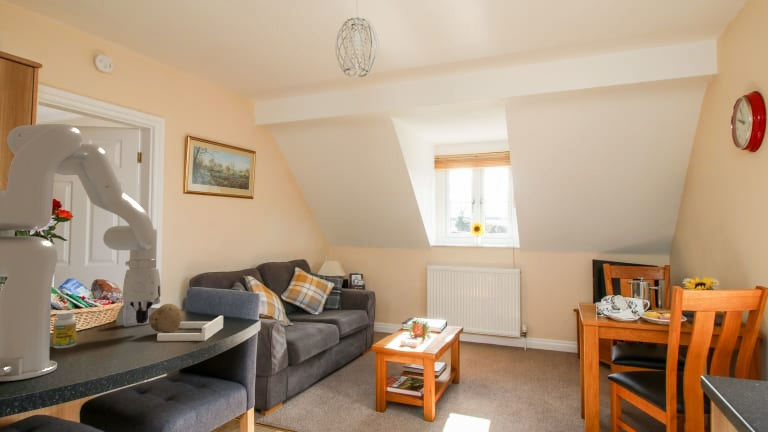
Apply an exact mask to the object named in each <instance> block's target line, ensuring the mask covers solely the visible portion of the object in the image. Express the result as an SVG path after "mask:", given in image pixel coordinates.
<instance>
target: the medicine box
mask: <svg viewBox="0 0 768 432" xmlns="http://www.w3.org/2000/svg"><path fill="white" fill-rule="evenodd" d="M122 305H123V307H122V308H123V310H122V325H123V326H124V327H125V328H126V327H134V326H135V327H136V326H141V325H142V326H143V325H149V324H150V323H149V317H150V315H151V308H152V306H151V307H150V309H148V320H147V322H145V323H143V324H141V323H139V324H137V320H136V311H135V310H134V308H133V307H132V306H131V305H127V304H124V300H123V304H122ZM142 306H143V301H142Z"/></svg>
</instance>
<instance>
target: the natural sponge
mask: <svg viewBox="0 0 768 432" xmlns="http://www.w3.org/2000/svg"><path fill="white" fill-rule="evenodd" d="M182 318H183V313H182V310H181V308H180V307H179V306H177V305H176V304H174V303H165V304H162V305H161V306H160V307H158V308H156V309H155V310H154V311H153V312H152V313H150V317H149V323H150V326H151V329H152V330H153V331H154V332H161V333H176V331H178V329H180V323H181V322H182Z"/></svg>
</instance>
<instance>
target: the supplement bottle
mask: <svg viewBox="0 0 768 432" xmlns="http://www.w3.org/2000/svg"><path fill="white" fill-rule="evenodd" d="M74 312H75V311H70V310H69V311H67V310H66V311H60V312H56V319H57V320H54V322H53V323H52V324H53V326H52V327H53V329H52V332H53V333H52V335H53V336H52V346H53V348H54V349H66V348H67V349H68V348H72V347H75V346H76V345H77V320H76V318H73V317H74V315H75V313H74Z"/></svg>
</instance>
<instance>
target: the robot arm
mask: <svg viewBox="0 0 768 432" xmlns="http://www.w3.org/2000/svg"><path fill="white" fill-rule="evenodd" d="M6 142H7V143H6V144H7V146H8V149H9V150H10V152H12V153H13V155H14V156H13V157H12V160H11V162H10V166H9V170H8V175H7V184H6V189H5V190H4V189H2V190H1V189H0V278H3V277H4V278H6V280H5V283H4V284H3V286H2V288H1V290H0V382H10V381H20V380H27V379H31V378H32V379H33V378H37V377H41V376H44V375H47V374H49V373H52V372H53V371H56V369H57V368H58V362H57V361H55V360H50V351H51V350H50V348H51V346H50V345H51V343H50V341H51V316H52V315H51V314H52V313H51V312H52V311H51V310H52V288H53V287H52V285H53V279H54V274H55V271H56V267H57V263H58V250H57V248H56V246H55V245H54V244H53V243H52V242H51V241H50V240H48V239H46V238H44V237H39V236H33V235H32V236H31V235H28V236H27V235H15V232H16V231H36V230H41V229H44V228H46V227H47V226H48V225H49V223H50V221H51V219H52V216H53V215H52V214H53V201H54V200H53V199H54V182H55V176H56V175H57V174H58V175H61V176H77V177H78V179H79V181H80V183H81V185H82V187H83V189H84V191H85V192H86V195H87V197H88V199H89V201H90V203H91V204H93V205H94V206H96V207H98V208H99V209H100V208H101V209H103V211H107V212H108V213H109V212H110V213H112V214H114V215H115V216H117V217H120V218H121V219H123V220H124V221H125V222H126V223H127V224H128V225H114V226H113V225H112V226H111V227H108V229H106V231H105V232H104V234H103V237H102V238H103V239H102V240H103V243H104V245H105V246H107V248H109V249H112V251H113V250H115V251H129V260H128V261H127V260H126V261H125V262H124V263H125V266H128V269H126V271H125V276H124V280H123V284H122V285H123V287H122V300H123V301H124V304H127V305H131V306H132V307H133V308H134V310H135V311H136V320H137V324H139V323H141V324H143V323H145V322H147V320H148V309H150V307H151V308H152V306H155V305H158V304H160V303H161V299H160V298H161V295H162V290H161V289H162V286H161V276H160V270H159V269H158V268H157V252H158V251H157V243H158V242H157V241H158V232H157V231H158V230H157V229H156V228H157V227H154V225H153V222H152V220H151V218H150V215H149V214H148V212H147V211H146V210H145V209H144V208H143V206H141V205H140V204H139V203H137V201H136V200H134V199H133V198H132V197H131V196H129V195H128V194H127V193H125V192H124V190H123V189H122V187H121V184H120V181H119V179H118V177H117V175H116V172H115V171H114V168H113V166H112V164H111V161H110V159H109V157H108V155H107V152H106V151H105V150H104V149H103V148H102V147H101V146H98V145H97V144H91V143H90V144H89V143H83V135H82V133H81V131H80V129H78V128H77V127H75V126H74V125H70V124H65V123H47V124H27V125H19V126H16V127H14V128H12V129H11V130H10V131H9V133H8V134H7V137H6ZM142 301H143V306H142Z"/></svg>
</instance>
